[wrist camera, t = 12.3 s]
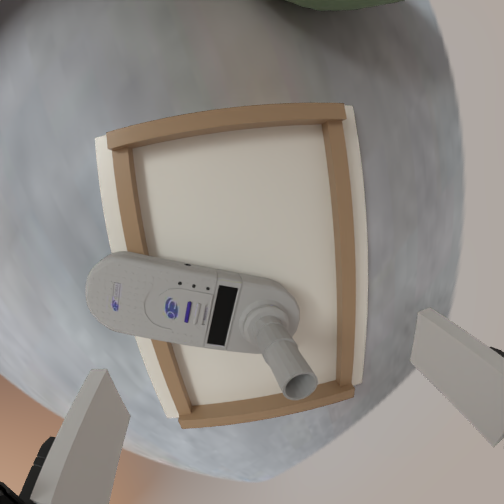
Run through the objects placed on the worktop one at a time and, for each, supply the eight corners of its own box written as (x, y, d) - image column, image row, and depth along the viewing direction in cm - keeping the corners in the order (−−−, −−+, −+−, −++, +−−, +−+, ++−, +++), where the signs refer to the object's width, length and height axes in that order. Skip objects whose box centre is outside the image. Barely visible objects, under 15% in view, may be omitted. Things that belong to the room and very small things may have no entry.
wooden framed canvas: (98, 139, 18) (83, 134, 15) (348, 107, 20) (364, 99, 17) (168, 413, 24) (165, 431, 22) (358, 378, 26) (369, 394, 23)
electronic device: (31, 285, 9) (366, 340, 12) (100, 242, 18) (296, 280, 22) (42, 385, 9) (328, 421, 13) (94, 310, 19) (278, 341, 22)
